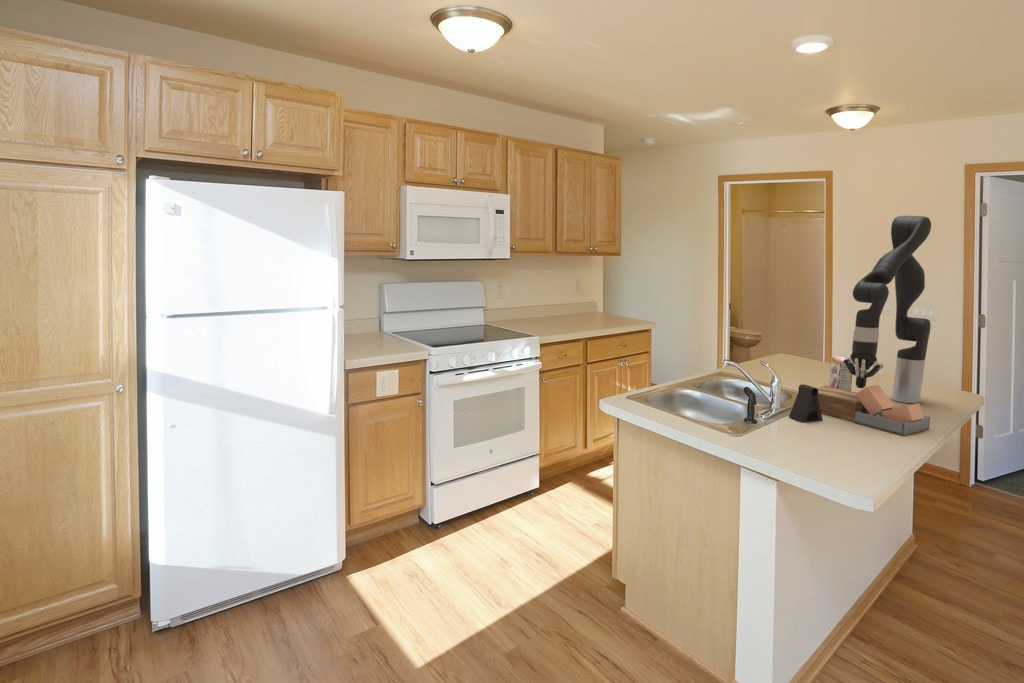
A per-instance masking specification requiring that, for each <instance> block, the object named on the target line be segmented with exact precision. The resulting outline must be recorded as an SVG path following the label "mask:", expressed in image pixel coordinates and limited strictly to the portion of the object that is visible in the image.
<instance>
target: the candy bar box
mask: <svg viewBox="0 0 1024 683" xmlns="http://www.w3.org/2000/svg"><path fill="white" fill-rule="evenodd" d="M830 358H831V359H830V366H829V367H830V368H829V379H828V380H829V381H828V382H829V383H828V386H829V387H833V388H838V389H842V390H847V391H851V392H852V382H853V381H852V380H853V375H852V374H851V373H850V371H849V369H848V368H847V366H846V364H845V363H844V360H845V359H847V358H846V357H843V356H831V357H830Z"/></svg>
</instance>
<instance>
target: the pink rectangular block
mask: <svg viewBox="0 0 1024 683" xmlns="http://www.w3.org/2000/svg"><path fill="white" fill-rule="evenodd" d="M856 395H857V397H858V398H859V400H860V401H861V402H862V404H863V405H864V407H865V408H866V409H867V411H868V412H869V414H870V415H873V416H876V415H877V416H878V415H880V414H881V411H884V410H889V409H892V408H893V409H894V408H896V406H895V404H894V403H893V402H892V401H891V399H890V398H889V397H888V395H887V394H886V392H885V391H884V390H883V388H882V387H881V385H880V384H873V385H868V386H867V385H866V386H865V387H864V388H861V390H859V391H857V392H856Z"/></svg>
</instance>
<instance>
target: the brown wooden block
mask: <svg viewBox="0 0 1024 683" xmlns="http://www.w3.org/2000/svg"><path fill="white" fill-rule="evenodd" d="M815 388H817V389H818V400H819V405H820V410H821V414H822V415H826V416H831V417H834V418H837V419H841V420H845V421H849V422H853V423H854V419H855V412H856V411H857V412H861V413H865V414H869V412H868V411H867V409H866V408H865V407H864V405H863V404H862V402H861V401H860V400H859V398H858V397H857V395H856V393H857V392H856V391H852V390H851V391H847V390H842V389H838V388H833V387H829V385H828V386H827V385H822V386H816V387H815ZM869 415H870V414H869ZM876 416H878V415H876Z"/></svg>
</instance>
